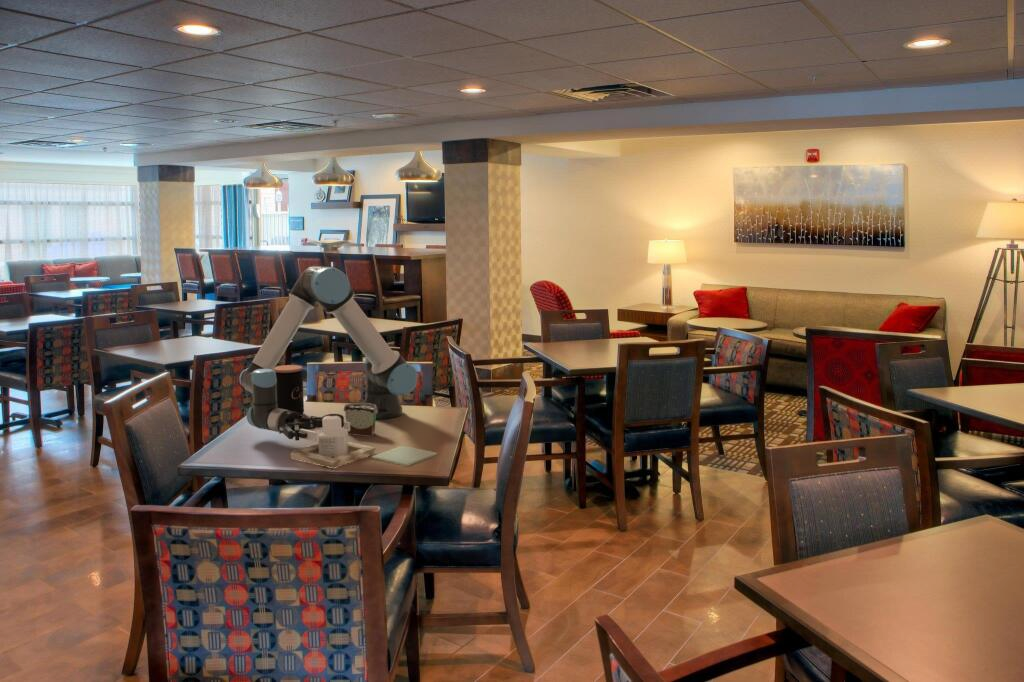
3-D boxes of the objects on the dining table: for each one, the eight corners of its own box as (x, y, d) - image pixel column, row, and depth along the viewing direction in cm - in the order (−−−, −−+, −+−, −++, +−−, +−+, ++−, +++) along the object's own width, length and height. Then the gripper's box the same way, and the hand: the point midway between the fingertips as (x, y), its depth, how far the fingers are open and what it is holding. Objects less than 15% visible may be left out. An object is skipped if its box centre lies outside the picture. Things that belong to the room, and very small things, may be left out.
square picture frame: (334, 444, 246) (334, 438, 246) (375, 454, 236) (375, 447, 236) (290, 458, 231) (290, 452, 231) (333, 469, 221) (333, 462, 221)
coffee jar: (295, 419, 278) (294, 370, 276) (269, 417, 281) (266, 369, 278) (309, 412, 289) (307, 365, 286) (283, 410, 291) (281, 364, 288)
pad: (402, 447, 243) (402, 445, 243) (436, 454, 236) (436, 452, 236) (371, 458, 232) (371, 456, 232) (407, 466, 224) (407, 464, 224)
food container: (385, 432, 261) (384, 404, 260) (376, 437, 255) (375, 408, 254) (353, 429, 265) (352, 401, 264) (344, 433, 259) (343, 405, 258)
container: (323, 453, 237) (321, 412, 235) (348, 452, 238) (347, 411, 236) (318, 460, 229) (317, 418, 228) (345, 460, 230) (343, 418, 228)
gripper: (316, 424, 254) (362, 434, 243) (254, 442, 233) (301, 453, 222) (315, 402, 253) (361, 411, 242) (252, 418, 232) (300, 428, 221)
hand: (333, 431), depth 232 cm, fingers open, 13 cm apart
